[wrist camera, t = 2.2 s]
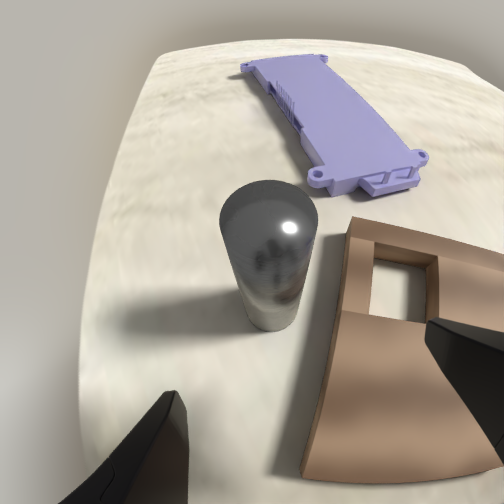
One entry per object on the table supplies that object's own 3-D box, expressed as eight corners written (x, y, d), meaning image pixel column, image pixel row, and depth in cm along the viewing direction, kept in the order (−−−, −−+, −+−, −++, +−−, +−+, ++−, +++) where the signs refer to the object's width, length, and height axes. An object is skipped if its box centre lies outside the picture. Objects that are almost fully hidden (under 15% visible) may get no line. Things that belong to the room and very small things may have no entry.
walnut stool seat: (498, 461, 12) (514, 463, 10) (299, 469, 16) (302, 478, 14) (509, 270, 21) (522, 260, 19) (346, 232, 25) (352, 216, 23)
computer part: (318, 217, 26) (433, 188, 27) (323, 188, 22) (447, 162, 23) (239, 76, 40) (323, 66, 41) (237, 54, 37) (324, 45, 38)
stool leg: (291, 336, 21) (309, 270, 10) (240, 325, 22) (206, 250, 11) (302, 288, 23) (323, 188, 12) (253, 278, 23) (235, 174, 13)
